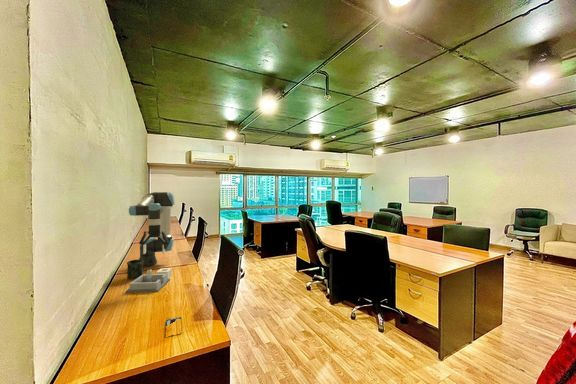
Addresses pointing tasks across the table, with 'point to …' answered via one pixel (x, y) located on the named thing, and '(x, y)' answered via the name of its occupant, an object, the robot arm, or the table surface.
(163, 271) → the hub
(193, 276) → the table surface
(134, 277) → the mug
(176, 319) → the smartphone
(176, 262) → the table surface
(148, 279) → the post
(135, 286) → the grey walled tray
